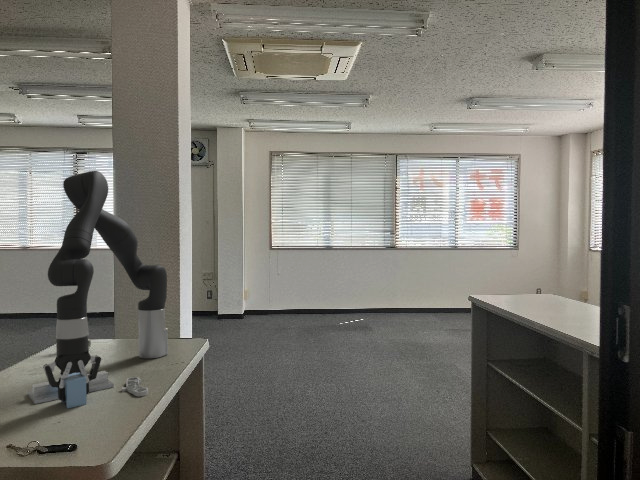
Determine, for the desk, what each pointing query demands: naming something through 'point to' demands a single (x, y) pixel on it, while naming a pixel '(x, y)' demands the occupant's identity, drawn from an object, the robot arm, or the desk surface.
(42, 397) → the din rail
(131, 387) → the bracket
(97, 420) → the desk surface
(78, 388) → the block
